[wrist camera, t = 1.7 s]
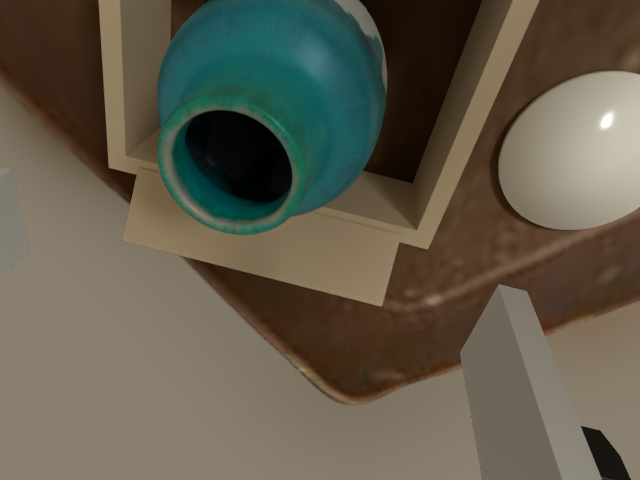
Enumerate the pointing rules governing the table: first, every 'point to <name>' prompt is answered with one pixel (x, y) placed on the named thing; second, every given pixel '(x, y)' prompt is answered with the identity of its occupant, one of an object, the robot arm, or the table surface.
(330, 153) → the vase
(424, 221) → the carton
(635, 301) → the table surface
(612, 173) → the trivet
